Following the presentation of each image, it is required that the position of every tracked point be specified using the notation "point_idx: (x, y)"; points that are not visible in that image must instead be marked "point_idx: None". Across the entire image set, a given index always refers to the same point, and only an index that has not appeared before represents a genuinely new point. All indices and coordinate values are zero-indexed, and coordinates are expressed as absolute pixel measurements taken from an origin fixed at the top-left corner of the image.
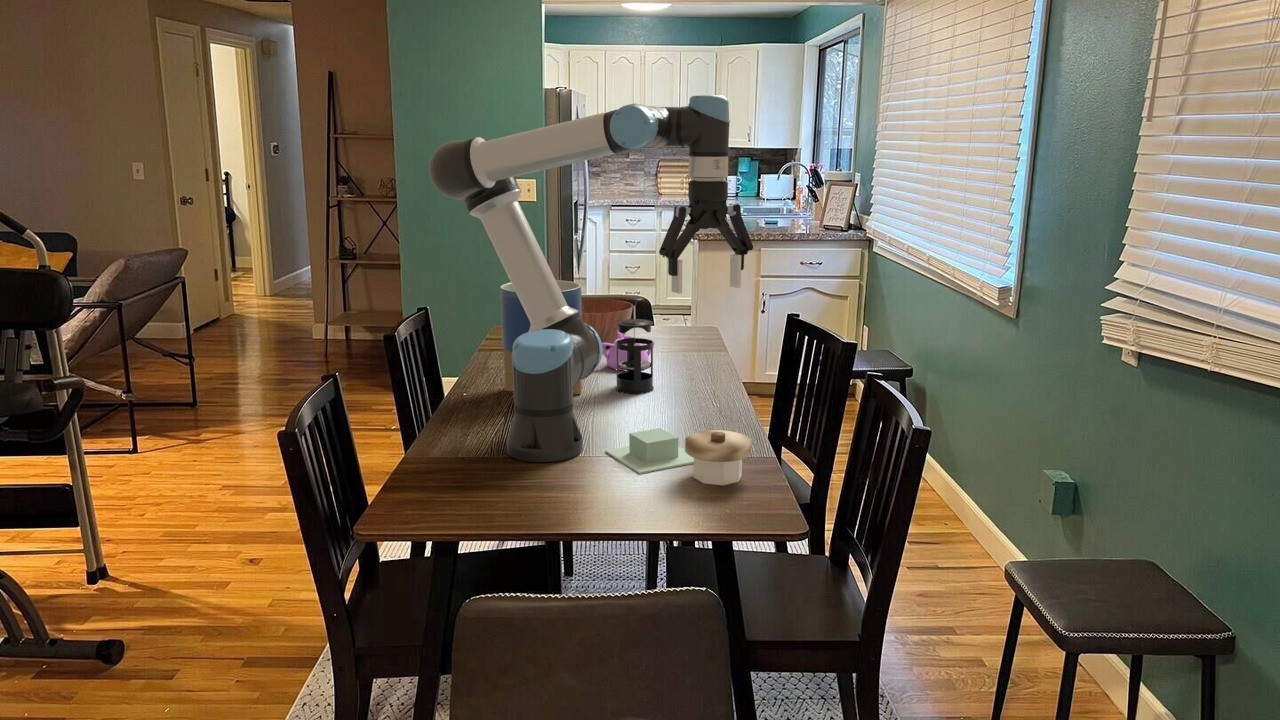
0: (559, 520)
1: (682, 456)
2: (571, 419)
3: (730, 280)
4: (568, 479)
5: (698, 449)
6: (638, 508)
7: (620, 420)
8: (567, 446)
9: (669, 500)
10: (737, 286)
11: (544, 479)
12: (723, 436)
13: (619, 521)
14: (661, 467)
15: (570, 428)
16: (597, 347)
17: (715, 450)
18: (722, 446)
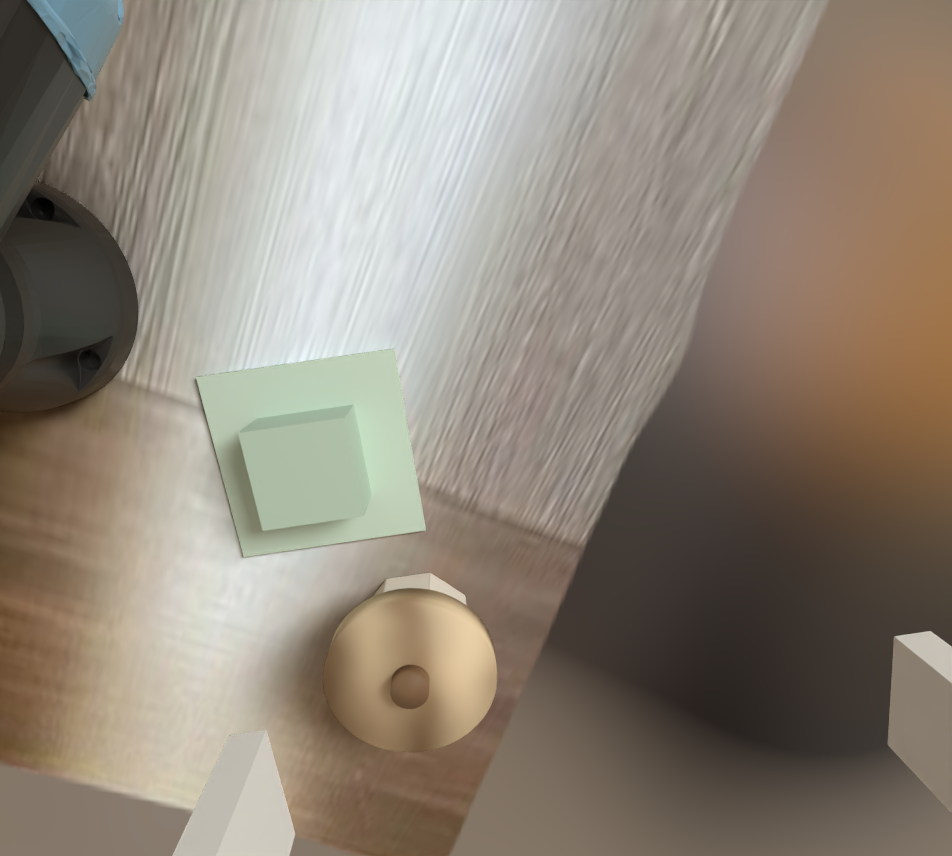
0: (16, 725)
1: (384, 493)
2: (31, 371)
3: (941, 684)
4: (64, 530)
5: (336, 716)
6: (189, 720)
7: (325, 80)
8: (57, 403)
9: (264, 704)
10: (898, 755)
11: (3, 511)
12: (417, 706)
13: (136, 761)
14: (305, 546)
15: (40, 387)
16: (37, 53)
17: (371, 740)
18: (401, 721)
